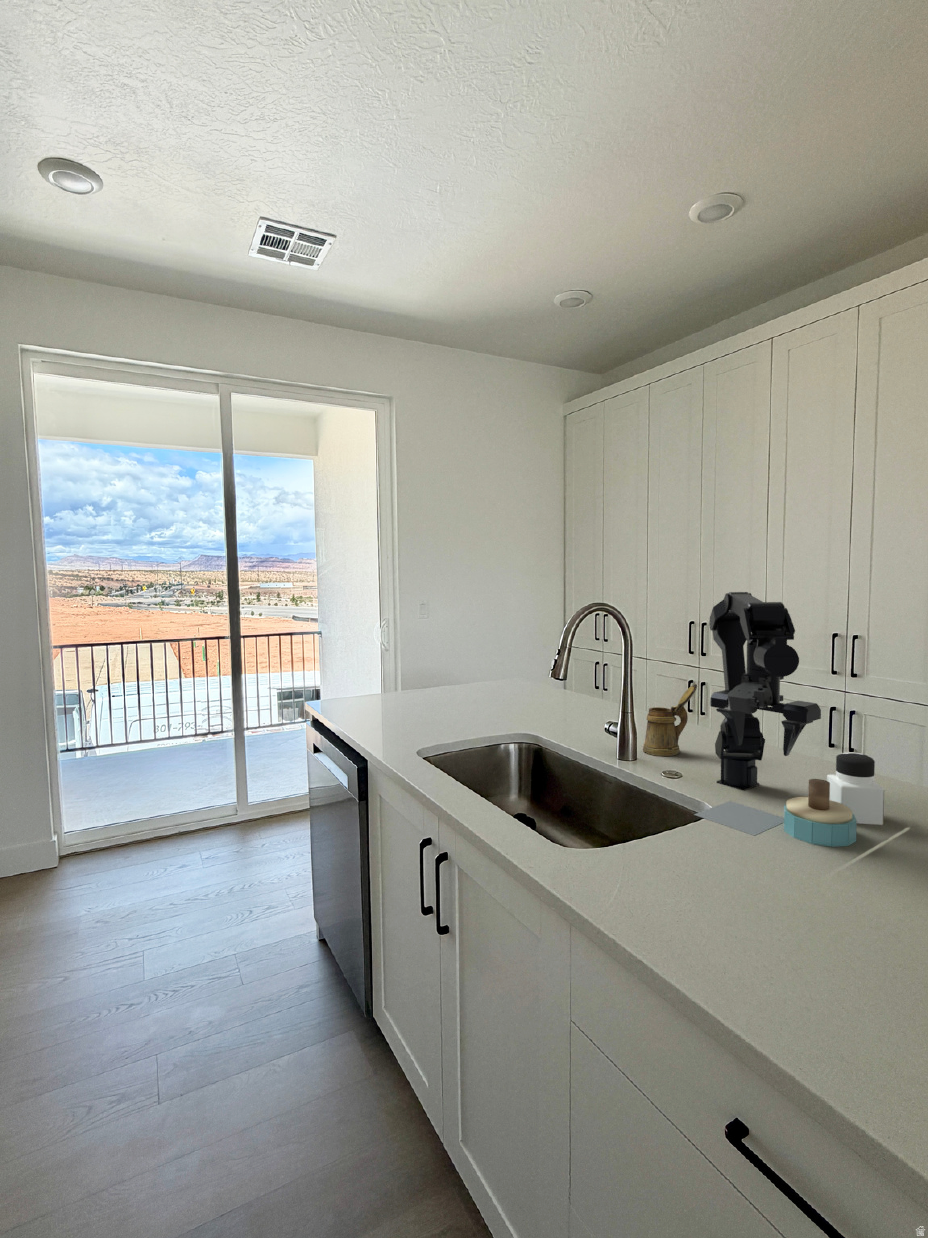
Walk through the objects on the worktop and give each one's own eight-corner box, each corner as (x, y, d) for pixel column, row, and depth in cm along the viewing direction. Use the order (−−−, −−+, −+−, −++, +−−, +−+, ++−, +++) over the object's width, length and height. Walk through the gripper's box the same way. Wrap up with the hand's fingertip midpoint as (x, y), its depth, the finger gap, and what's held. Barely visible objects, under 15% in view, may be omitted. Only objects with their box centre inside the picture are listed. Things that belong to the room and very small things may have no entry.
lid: (775, 810, 108) (775, 780, 108) (803, 798, 114) (803, 769, 114) (836, 829, 100) (836, 796, 100) (862, 814, 106) (863, 783, 105)
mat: (693, 816, 116) (693, 814, 116) (730, 802, 123) (730, 800, 123) (754, 837, 106) (754, 835, 106) (790, 821, 113) (790, 819, 113)
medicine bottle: (884, 827, 110) (885, 761, 109) (840, 824, 112) (841, 759, 111) (866, 812, 117) (868, 750, 116) (825, 810, 119) (826, 749, 118)
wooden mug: (700, 757, 154) (700, 687, 153) (644, 755, 156) (644, 686, 155) (693, 748, 163) (694, 681, 162) (641, 746, 165) (641, 680, 164)
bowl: (771, 832, 109) (772, 810, 108) (802, 818, 115) (803, 797, 114) (836, 854, 100) (837, 830, 99) (866, 837, 106) (867, 814, 106)
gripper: (693, 667, 118) (693, 746, 119) (790, 679, 103) (789, 770, 104) (726, 662, 124) (726, 737, 125) (823, 672, 109) (821, 758, 110)
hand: (761, 750), depth 116 cm, fingers open, 9 cm apart
